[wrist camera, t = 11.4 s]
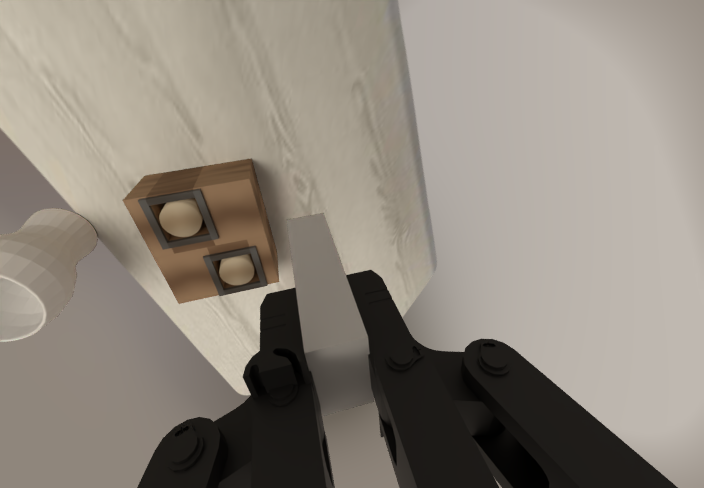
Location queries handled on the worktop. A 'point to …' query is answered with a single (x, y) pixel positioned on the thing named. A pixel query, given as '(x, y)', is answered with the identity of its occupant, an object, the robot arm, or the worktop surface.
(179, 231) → the dowel
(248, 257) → the dowel
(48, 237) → the cup
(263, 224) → the walnut block
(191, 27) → the worktop surface
